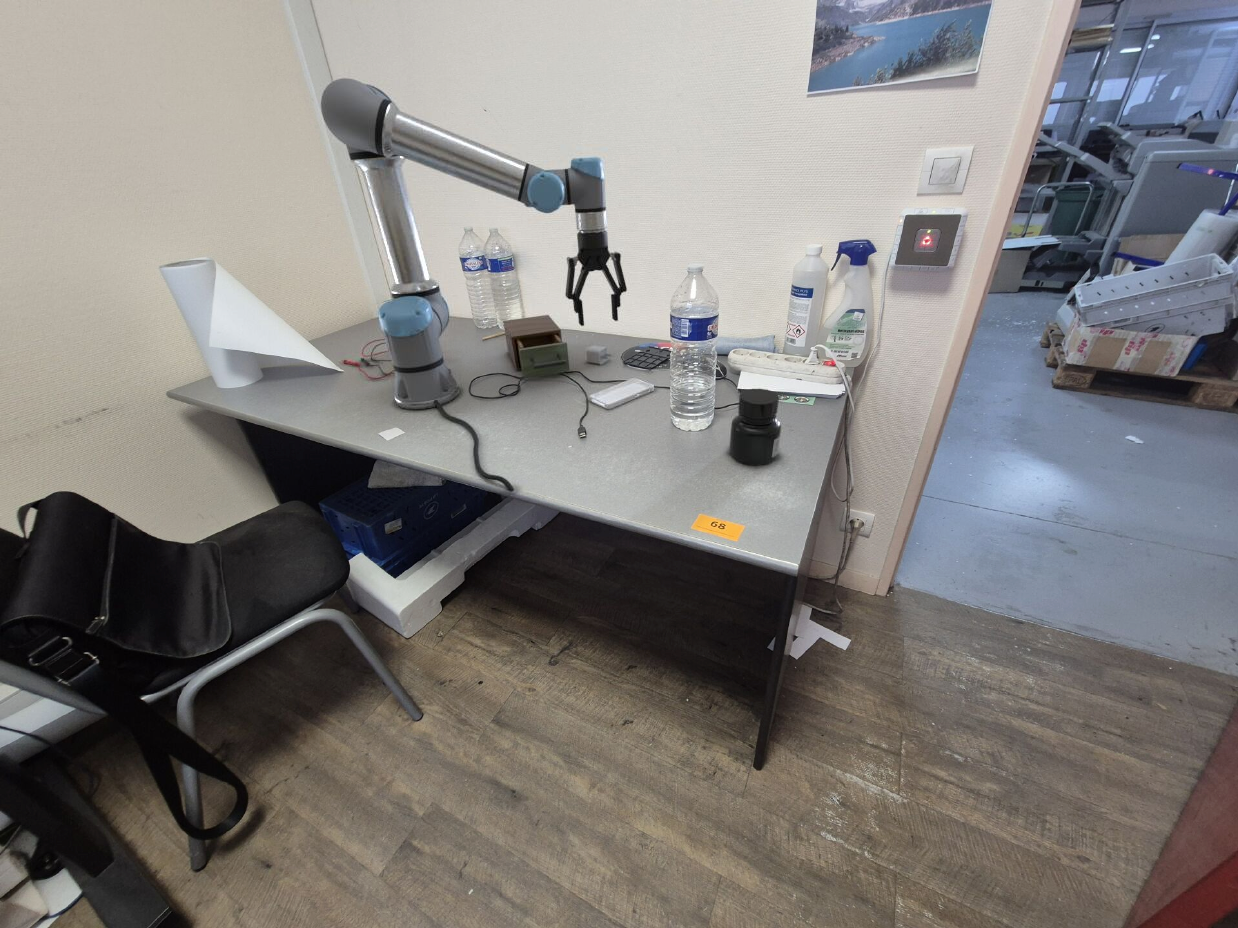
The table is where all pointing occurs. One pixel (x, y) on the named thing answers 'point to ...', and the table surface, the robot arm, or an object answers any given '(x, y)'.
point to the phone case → (621, 393)
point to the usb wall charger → (597, 354)
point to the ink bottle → (756, 427)
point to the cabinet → (527, 332)
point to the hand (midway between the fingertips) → (598, 322)
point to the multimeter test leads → (372, 359)
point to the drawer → (542, 355)
